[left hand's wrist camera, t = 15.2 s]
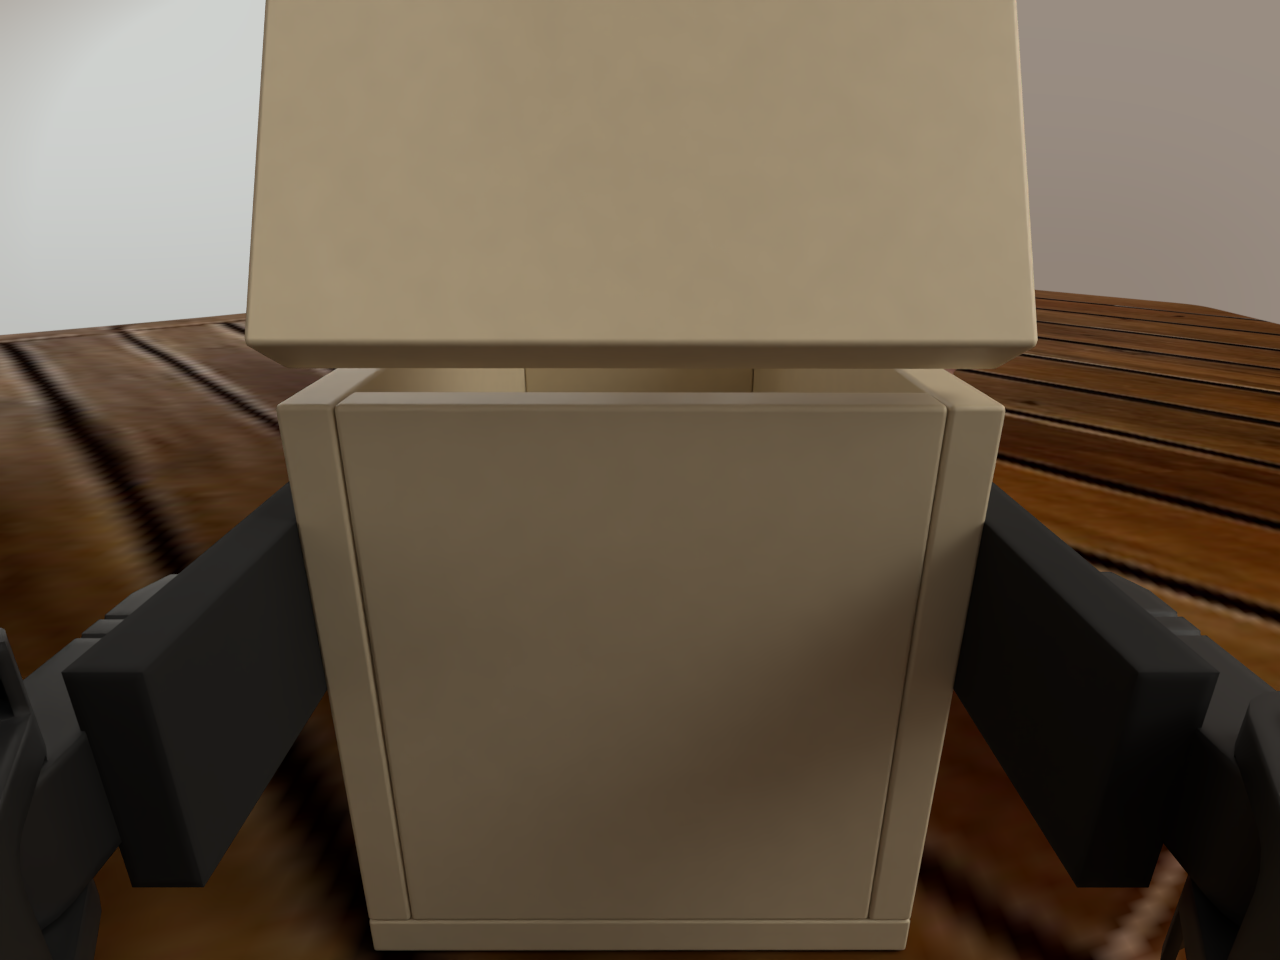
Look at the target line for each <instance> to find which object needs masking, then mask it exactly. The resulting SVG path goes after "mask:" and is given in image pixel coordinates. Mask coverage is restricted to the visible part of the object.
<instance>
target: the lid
mask: <svg viewBox="0 0 1280 960" xmlns="http://www.w3.org/2000/svg"><path fill="white" fill-rule="evenodd" d="M245 341H246V344H247V346H249V347H251V348H253V349H254V350H256V351H258V352H260V353H261V354H263V355H265V356H267V357H268V358H270V359H272V360H274V361H276V362H277V363H279V364H281V365H283V366H285V367H287V368H601V369H994V368H997V367H999V366H1001V365H1002V364H1004V363H1006V362H1008V361H1010V360H1011V359H1013V358H1015V357H1017V356H1019V355H1020V354H1022V353H1024V352H1026V351H1028V350H1029V349H1031V348H1033V347H1035V345H1036V343H1037V324H1036V307H1035V291H1034V275H1033V259H1032V243H1031V227H1030V211H1029V195H1028V178H1027V162H1026V146H1025V130H1024V114H1023V97H1022V81H1021V65H1020V49H1019V33H1018V17H1017V0H266V6H265V22H264V38H263V54H262V70H261V86H260V102H259V118H258V134H257V150H256V166H255V182H254V198H253V214H252V230H251V246H250V262H249V278H248V294H247V310H246V326H245Z"/></svg>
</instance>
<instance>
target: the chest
mask: <svg viewBox="0 0 1280 960" xmlns="http://www.w3.org/2000/svg"><path fill="white" fill-rule="evenodd" d="M276 411H277V416H278V422H279V427H280V433H281V438H282V444H283V449H284V455H285V460H286V466H287V471H288V477H289V482H290V488H291V493H292V498H293V504H294V509H295V515H296V520H297V526H298V531H299V537H300V542H301V548H302V553H303V559H304V564H305V570H306V575H307V580H308V586H309V591H310V597H311V602H312V608H313V613H314V619H315V624H316V630H317V635H318V641H319V646H320V652H321V657H322V663H323V668H324V673H325V679H326V684H327V690H328V695H329V701H330V706H331V712H332V717H333V723H334V728H335V734H336V739H337V745H338V750H339V756H340V761H341V766H342V772H343V777H344V783H345V788H346V794H347V799H348V805H349V810H350V816H351V821H352V827H353V832H354V838H355V843H356V848H357V854H358V859H359V865H360V870H361V876H362V881H363V887H364V892H365V898H366V903H367V909H368V914H369V918H370V928H371V933H372V938H373V944H374V949H375V950H904V949H905V946H906V941H907V936H908V930H909V925H910V920H909V918H910V917H911V912H912V906H913V901H914V896H915V890H916V885H917V880H918V874H919V869H920V864H921V858H922V853H923V848H924V842H925V837H926V832H927V826H928V821H929V816H930V810H931V805H932V800H933V794H934V789H935V784H936V778H937V773H938V768H939V762H940V757H941V752H942V746H943V741H944V736H945V730H946V725H947V720H948V714H949V709H950V704H951V698H952V693H953V687H954V681H955V676H956V670H957V665H958V660H959V654H960V649H961V644H962V638H963V633H964V627H965V622H966V617H967V611H968V606H969V600H970V595H971V590H972V584H973V579H974V574H975V568H976V563H977V557H978V552H979V547H980V541H981V536H982V530H983V525H984V522H985V517H986V511H987V506H988V501H989V495H990V490H991V485H992V479H993V474H994V469H995V463H996V458H997V453H998V447H999V442H1000V437H1001V431H1002V426H1003V421H1004V415H1005V407H1004V406H1003V405H1001V404H1000V403H998V402H997V401H995V400H993V399H992V398H990V397H988V396H987V395H985V394H983V393H982V392H980V391H979V390H977V389H975V388H974V387H972V386H970V385H969V384H967V383H965V382H964V381H962V380H960V379H959V378H957V377H956V376H954V375H952V374H951V373H949V372H947V371H946V370H944V369H601V368H337V369H336V370H334V371H332V372H331V373H329V374H328V375H326V376H324V377H323V378H321V379H319V380H318V381H316V382H315V383H313V384H311V385H310V386H308V387H307V388H305V389H303V390H302V391H300V392H298V393H297V394H295V395H294V396H292V397H290V398H289V399H287V400H285V401H284V402H282V403H281V404H279V405H278V406H277V410H276Z"/></svg>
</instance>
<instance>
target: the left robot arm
mask: <svg viewBox="0 0 1280 960" xmlns="http://www.w3.org/2000/svg"><path fill="white" fill-rule="evenodd" d="M953 689H954V691H955V692H956V694H957V695H958V697H959V699H960V700H961V702H962V703H963V705H964V707H965V708H966V710H967V711H968V713H969V715H970V716H971V718H972V719H973V721H974V723H975V724H976V726H977V727H978V729H979V731H980V732H981V734H982V736H983V737H984V739H985V740H986V742H987V744H988V745H989V747H990V748H991V750H992V752H993V753H994V755H995V756H996V758H997V760H998V761H999V763H1000V764H1001V766H1002V768H1003V769H1004V771H1005V772H1006V774H1007V776H1008V777H1009V779H1010V780H1011V782H1012V784H1013V785H1014V787H1015V788H1016V790H1017V792H1018V793H1019V795H1020V796H1021V798H1022V800H1023V801H1024V803H1025V804H1026V806H1027V808H1028V809H1029V811H1030V812H1031V814H1032V816H1033V817H1034V819H1035V820H1036V822H1037V824H1038V825H1039V827H1040V828H1041V830H1042V832H1043V833H1044V835H1045V837H1046V838H1047V840H1048V841H1049V843H1050V845H1051V846H1052V848H1053V849H1054V851H1055V853H1056V854H1057V856H1058V857H1059V859H1060V861H1061V862H1062V864H1063V865H1064V867H1065V869H1066V870H1067V872H1068V873H1069V875H1070V877H1071V878H1072V880H1073V881H1074V883H1075V885H1076V886H1077V887H1149V884H1150V881H1151V878H1152V875H1153V872H1154V869H1155V866H1156V863H1157V860H1158V857H1159V854H1160V851H1161V848H1162V845H1163V843H1164V844H1165V846H1166V847H1167V848H1168V850H1169V851H1170V852H1171V853H1172V855H1173V856H1174V857H1175V858H1176V860H1177V861H1178V862H1179V863H1180V865H1181V866H1182V867H1183V868H1184V870H1185V871H1186V872H1187V873H1188V877H1187V879H1186V882H1185V885H1184V888H1183V891H1182V894H1181V896H1180V899H1179V902H1178V905H1177V908H1176V910H1175V913H1174V916H1173V919H1172V922H1171V924H1170V927H1169V930H1168V933H1167V936H1166V938H1165V941H1164V944H1163V947H1162V953H1161V959H1160V960H1176V957H1177V954H1178V952H1179V950H1181V949H1182V948H1184V947H1185V952H1186V958H1187V960H1280V691H1276V690H1274V689H1273V688H1272V687H1271V686H1269V685H1268V684H1267V683H1266V682H1264V681H1263V680H1262V679H1261V678H1259V677H1258V676H1257V675H1255V674H1254V673H1253V672H1252V671H1250V670H1249V669H1248V668H1247V667H1245V666H1244V665H1243V664H1242V663H1240V662H1239V661H1238V660H1237V659H1235V658H1234V657H1233V656H1231V655H1230V654H1229V653H1228V652H1226V651H1225V650H1224V649H1223V648H1221V647H1220V646H1219V645H1218V644H1216V643H1215V642H1214V641H1212V640H1211V639H1210V638H1209V637H1207V636H1201V634H1200V630H1199V629H1197V628H1196V627H1195V626H1194V625H1192V624H1191V623H1190V622H1188V621H1187V620H1186V619H1185V618H1183V617H1177V612H1176V611H1175V610H1173V609H1172V608H1171V607H1170V606H1168V605H1167V604H1166V603H1164V602H1163V601H1162V600H1161V599H1159V598H1158V597H1157V596H1156V595H1154V594H1153V593H1152V592H1151V591H1149V590H1147V589H1145V588H1143V587H1141V586H1139V585H1137V584H1135V583H1133V582H1131V581H1129V580H1127V579H1125V578H1122V577H1120V576H1118V575H1116V574H1114V573H1112V572H1099V571H1098V570H1097V569H1096V568H1095V567H1093V566H1092V565H1091V564H1090V563H1089V562H1087V561H1086V560H1085V559H1084V558H1083V557H1081V556H1080V555H1079V554H1078V553H1077V552H1075V551H1074V550H1073V549H1072V548H1071V547H1070V546H1068V545H1067V544H1066V543H1065V542H1064V541H1062V540H1061V539H1060V538H1059V537H1058V536H1056V535H1055V534H1054V533H1053V532H1052V531H1050V530H1049V529H1048V528H1047V527H1046V526H1044V525H1043V524H1042V523H1041V522H1040V521H1038V520H1037V519H1036V518H1035V517H1034V516H1032V515H1031V514H1030V513H1029V512H1028V511H1026V510H1025V509H1024V508H1023V507H1022V506H1020V505H1019V504H1018V503H1017V502H1016V501H1015V500H1013V499H1012V498H1011V497H1010V496H1009V495H1007V494H1006V493H1005V492H1004V491H1003V490H1001V489H1000V488H999V487H998V486H997V485H995V484H994V483H993V482H992V485H991V490H990V495H989V501H988V506H987V511H986V517H985V522H984V525H983V530H982V536H981V541H980V547H979V552H978V557H977V563H976V568H975V574H974V579H973V584H972V590H971V595H970V600H969V606H968V611H967V617H966V622H965V627H964V633H963V638H962V644H961V649H960V654H959V660H958V665H957V670H956V676H955V681H954V687H953ZM326 690H327V684H326V679H325V673H324V668H323V663H322V657H321V652H320V646H319V641H318V635H317V630H316V624H315V619H314V613H313V608H312V602H311V597H310V591H309V586H308V580H307V575H306V570H305V564H304V559H303V553H302V548H301V542H300V537H299V531H298V526H297V520H296V515H295V509H294V504H293V498H292V493H291V488H290V482H288V483H287V484H285V485H284V486H283V487H282V488H281V489H279V490H278V491H277V492H276V493H275V494H274V495H272V496H271V497H270V498H269V499H268V500H266V501H265V502H264V503H263V504H262V505H260V506H259V507H258V508H257V509H256V510H254V511H253V512H252V513H251V514H250V515H248V516H247V517H246V518H245V519H244V520H242V521H241V522H240V523H239V524H238V525H236V526H235V527H234V528H233V529H232V530H230V531H229V532H228V533H227V534H226V535H225V536H223V537H222V538H221V539H220V540H219V541H217V542H216V543H215V544H214V545H213V546H211V547H210V548H209V549H208V550H207V551H205V552H204V553H203V554H202V555H201V556H199V557H198V558H197V559H196V560H195V561H193V562H192V563H191V564H190V565H189V566H187V567H186V568H185V569H184V570H183V571H182V572H180V573H179V574H171V575H169V576H166V577H164V578H162V579H160V580H158V581H156V582H154V583H152V584H150V585H148V586H146V587H144V588H142V589H140V590H138V591H136V592H134V593H132V594H131V595H129V596H128V597H127V598H126V599H124V600H123V601H122V602H121V603H119V604H118V605H117V606H116V607H114V608H113V609H112V610H111V611H109V612H108V613H107V614H106V615H105V619H104V620H98V621H97V622H96V623H94V624H93V625H92V626H91V627H89V628H88V629H87V630H86V631H84V632H83V633H82V637H81V638H76V639H74V640H73V641H72V642H71V643H69V644H68V645H67V646H66V647H64V648H63V649H62V650H61V651H59V652H58V653H57V654H56V655H54V656H53V657H52V658H51V659H49V660H48V661H47V662H46V663H44V664H43V665H42V666H41V667H39V668H38V669H37V670H36V671H34V672H33V673H32V674H31V675H29V676H28V677H27V678H26V679H24V680H22V677H21V675H20V672H19V669H18V666H17V663H16V661H15V658H14V655H13V652H12V649H11V646H10V644H9V641H8V638H7V635H6V632H5V630H4V629H2V628H0V960H94V954H95V948H96V942H97V936H98V930H99V923H100V917H101V905H100V898H99V894H98V891H97V888H96V885H95V882H94V879H93V878H94V876H95V875H96V874H97V873H98V871H99V870H100V869H101V868H102V866H103V865H104V864H105V862H106V861H107V860H108V859H109V857H110V856H111V855H112V854H113V852H114V851H115V850H116V849H117V847H118V846H119V848H120V851H121V854H122V857H123V860H124V863H125V866H126V869H127V872H128V875H129V878H130V881H131V884H132V887H204V886H205V884H206V883H207V881H208V880H209V878H210V876H211V875H212V873H213V872H214V870H215V868H216V867H217V865H218V864H219V862H220V860H221V859H222V857H223V855H224V854H225V852H226V851H227V849H228V847H229V846H230V844H231V843H232V841H233V839H234V838H235V836H236V835H237V833H238V831H239V830H240V828H241V827H242V825H243V823H244V822H245V820H246V819H247V817H248V815H249V814H250V812H251V811H252V809H253V807H254V806H255V804H256V803H257V801H258V799H259V798H260V796H261V795H262V793H263V791H264V790H265V788H266V787H267V785H268V783H269V782H270V780H271V779H272V777H273V775H274V774H275V772H276V770H277V769H278V767H279V766H280V764H281V762H282V761H283V759H284V758H285V756H286V754H287V753H288V751H289V750H290V748H291V746H292V745H293V743H294V742H295V740H296V738H297V737H298V735H299V734H300V732H301V730H302V729H303V727H304V726H305V724H306V722H307V721H308V719H309V718H310V716H311V714H312V713H313V711H314V710H315V708H316V706H317V705H318V703H319V702H320V700H321V698H322V697H323V695H324V693H325V692H326Z"/></svg>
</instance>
